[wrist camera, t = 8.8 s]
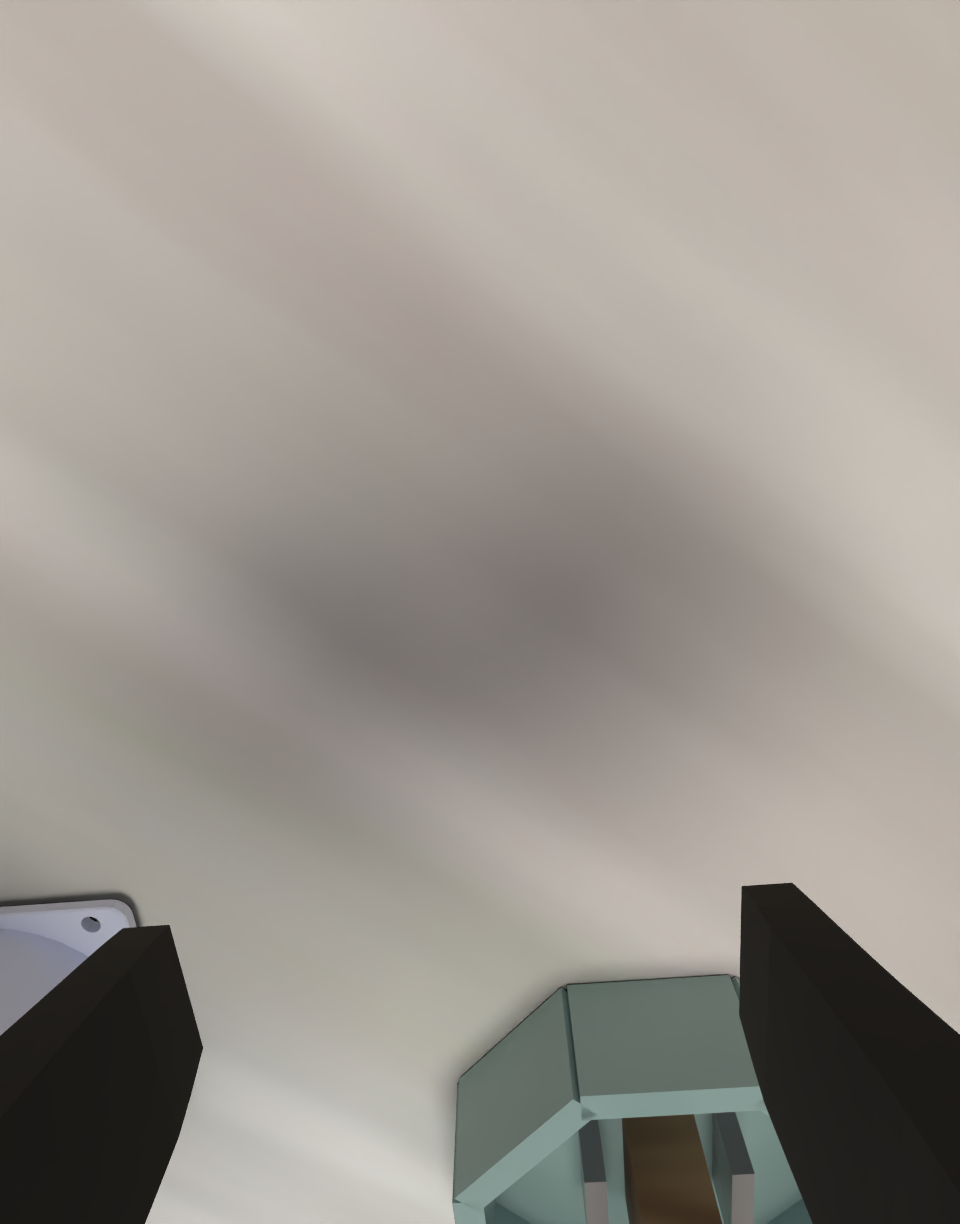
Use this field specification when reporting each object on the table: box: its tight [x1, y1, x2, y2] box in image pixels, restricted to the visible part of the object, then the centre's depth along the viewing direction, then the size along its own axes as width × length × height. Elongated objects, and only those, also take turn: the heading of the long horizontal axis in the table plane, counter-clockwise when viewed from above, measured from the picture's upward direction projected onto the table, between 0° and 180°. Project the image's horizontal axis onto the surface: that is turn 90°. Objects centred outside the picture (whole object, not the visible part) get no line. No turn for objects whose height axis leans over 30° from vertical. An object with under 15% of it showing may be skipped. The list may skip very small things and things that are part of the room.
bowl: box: [452, 975, 813, 1224], centre depth 23 cm, size 12×12×4 cm
